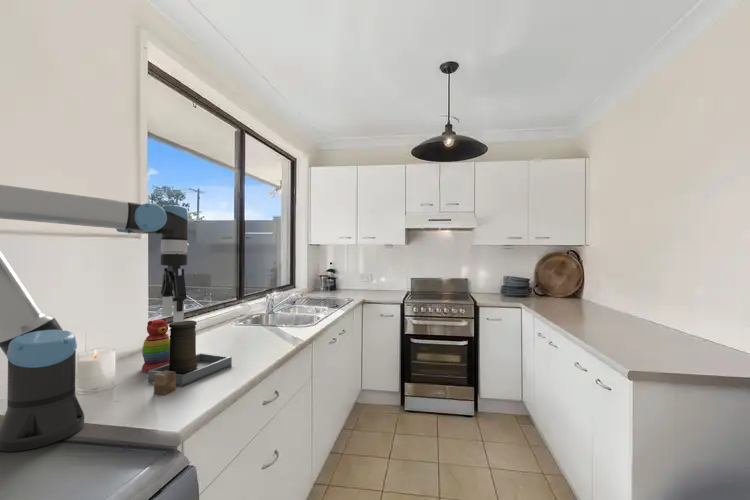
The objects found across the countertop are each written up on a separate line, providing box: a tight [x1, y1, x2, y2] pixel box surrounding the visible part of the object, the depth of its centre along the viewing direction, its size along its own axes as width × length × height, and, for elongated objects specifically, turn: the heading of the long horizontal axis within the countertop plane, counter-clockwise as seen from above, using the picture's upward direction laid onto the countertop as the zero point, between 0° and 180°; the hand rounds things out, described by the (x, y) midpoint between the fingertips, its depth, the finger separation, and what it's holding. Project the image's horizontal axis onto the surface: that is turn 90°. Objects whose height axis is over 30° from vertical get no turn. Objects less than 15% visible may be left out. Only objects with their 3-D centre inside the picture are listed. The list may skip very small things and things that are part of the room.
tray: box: [147, 352, 233, 388], centre depth 124 cm, size 22×15×4 cm
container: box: [168, 319, 198, 375], centre depth 121 cm, size 9×9×18 cm
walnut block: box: [153, 370, 176, 397], centre depth 107 cm, size 4×4×6 cm
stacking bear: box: [141, 318, 170, 374], centre depth 131 cm, size 11×10×18 cm
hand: (172, 318), depth 113 cm, fingers open, 13 cm apart
